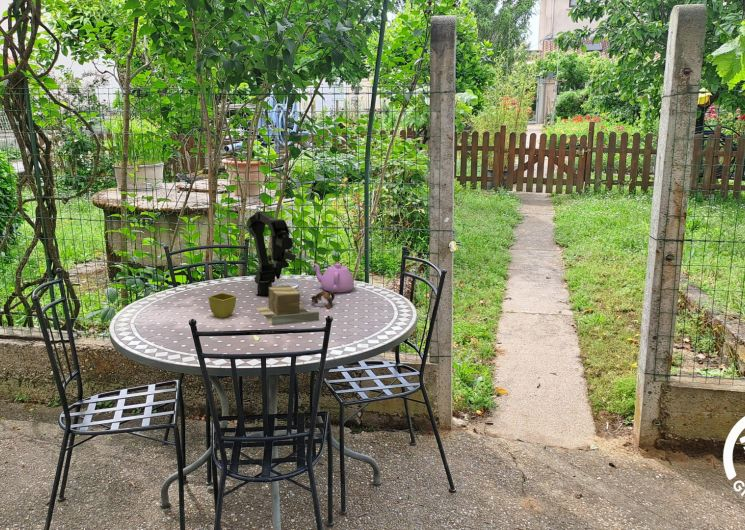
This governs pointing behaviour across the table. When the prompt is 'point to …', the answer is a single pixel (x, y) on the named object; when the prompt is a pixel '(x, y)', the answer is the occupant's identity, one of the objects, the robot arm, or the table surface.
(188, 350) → the table surface
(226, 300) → the flower pot
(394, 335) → the table surface
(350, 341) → the table surface
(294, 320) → the board
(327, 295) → the brown piece
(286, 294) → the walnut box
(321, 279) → the teapot
